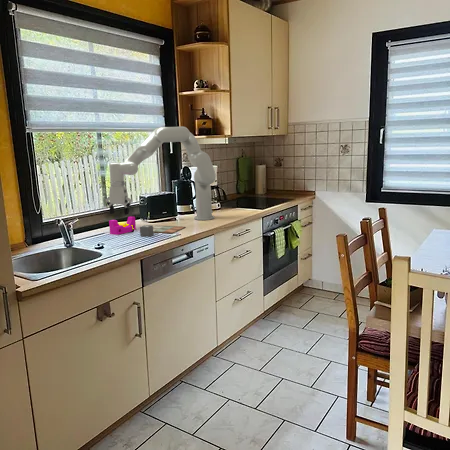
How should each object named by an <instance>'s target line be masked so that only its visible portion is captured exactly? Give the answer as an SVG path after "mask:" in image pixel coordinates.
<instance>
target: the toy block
mask: <svg viewBox="0 0 450 450" xmlns="http://www.w3.org/2000/svg"><path fill="white" fill-rule="evenodd" d="M125 222H126V223H127V224H129V225H128V226H126V227H123V225H120V224H119V222H118V220H116V219H111V220H108V223H109V224H108V225H109V234H110V235H115V236H116V235H117V236H119V235H122V234H127V233H131V232H133V231H135V230H137V226H136V217H135V216H130V215H129V216H127V220H126V221H125ZM126 223H125V224H126ZM131 225H133V228H134V230H132V226H131Z"/></svg>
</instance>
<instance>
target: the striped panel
mask: <svg viewBox="0 0 450 450" xmlns="http://www.w3.org/2000/svg"><path fill="white" fill-rule="evenodd" d="M186 227H187V226H182V225H181V226H179V225H178V226H177V225H153V234H159V233H162V234H161V235H173V234H175V233H178V232H179V231H181V230H184V229H186Z"/></svg>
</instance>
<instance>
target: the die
mask: <svg viewBox="0 0 450 450" xmlns="http://www.w3.org/2000/svg"><path fill="white" fill-rule="evenodd" d="M153 227H154V225H151V224H149V225H148V224H144V225H141V226H139V233H140V234H139V235H140V237H146V236H148V238H149V237H151V236H154V234H155V233H153Z"/></svg>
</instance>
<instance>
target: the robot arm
mask: <svg viewBox="0 0 450 450" xmlns="http://www.w3.org/2000/svg"><path fill="white" fill-rule="evenodd" d="M176 142H177V143H178V142H180V143H181V144H182V145H183V147H184V148H185V151H186V154H187V157H188V159H189V162H190V164H191V166H193V167H195V168H197V169H196V170H195V172H194V175H193V181H194V186H195V187H194V188H195V205H196V216H194V220H197V221H209V220H214V219H215V216H214V215H213V212H214V211H213V210H212V207H213V206H212V187H211V185H212V184H213V183H214V182H215V180H216V178H217V177H216V172H215V168H214V165H213V162H212V160H211V157H210V155H209V153H207V152H205V151H202V149H201V147H200V144H199V142H198V139H197V138H196V136H195V135H194V134H193V133H192V132H190V130H189V129H188V128H187V127H186V126H182V125H181V126H161V127H157V128H155V129H154V130H153V131H152V132H151V133H150V134H149V136H147V137H146V139H145V140H144V141H143V142H142V143H141V144H140V145H139V146H138V147H137V148H136V149H135V150H134V151H133V152H132V153H131V154H130V155H129V156H128V157H127V158H126V159H125V160H124V162H119V161H118V162H117V161H115V162H110V163H109V177H110V178H109V179H110V186H109V191H108V193H109V196H108V197H107V198H105V199H104V200H105V202H106V205H107V207H109V214H110V215H113V214H115V206H114V205H122V206H124V208H123V210H124V215H125V216H126V215H129V213H130V211H129V209H130V206H131V205H132V202H133V199H131V198H130V197H129V196H128V195H129V194H128V189H127V183H126V182H125V175H128V176H133V175H136V174H137V173H138V171H139V167H138V166H140V164H141V163H142V162H144V161H145V160H147V159H148V158H150V157H151V156H153V155H154V154H155V152H156V151H157V150H158V149H159V148H160V147H161V146H162V145H163V143H176ZM125 185H126V186H125Z"/></svg>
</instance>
